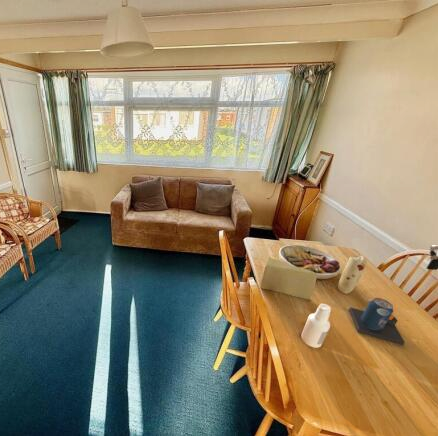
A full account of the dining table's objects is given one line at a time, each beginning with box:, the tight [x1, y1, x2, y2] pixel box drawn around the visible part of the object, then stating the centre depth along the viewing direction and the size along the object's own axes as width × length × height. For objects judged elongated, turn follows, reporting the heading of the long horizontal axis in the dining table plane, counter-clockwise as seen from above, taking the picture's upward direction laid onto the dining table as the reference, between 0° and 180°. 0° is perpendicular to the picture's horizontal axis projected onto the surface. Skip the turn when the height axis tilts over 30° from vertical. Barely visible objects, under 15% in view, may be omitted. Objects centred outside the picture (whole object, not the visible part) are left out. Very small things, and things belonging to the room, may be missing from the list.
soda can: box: [361, 297, 394, 330], centre depth 93 cm, size 7×7×12 cm
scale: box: [348, 306, 406, 346], centre depth 96 cm, size 15×14×4 cm
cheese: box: [259, 256, 318, 300], centre depth 113 cm, size 22×10×15 cm, turn 58°
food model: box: [337, 254, 367, 295], centre depth 112 cm, size 10×7×20 cm
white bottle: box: [300, 303, 332, 349], centre depth 87 cm, size 7×7×18 cm
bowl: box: [278, 244, 341, 280], centre depth 134 cm, size 30×30×8 cm
